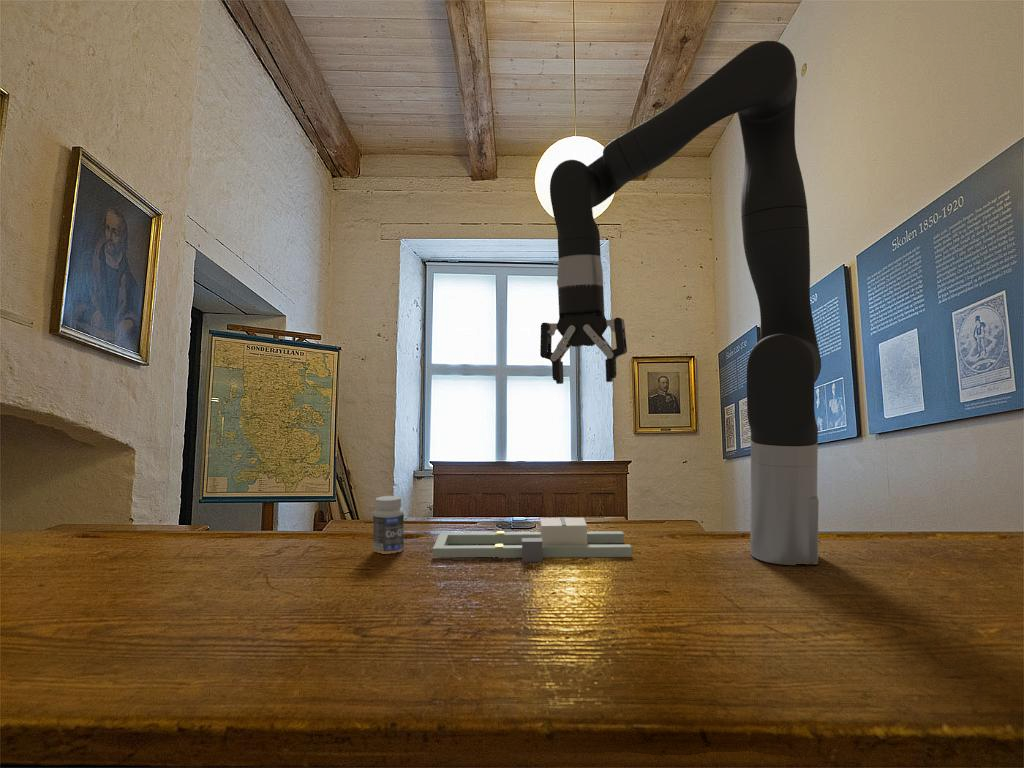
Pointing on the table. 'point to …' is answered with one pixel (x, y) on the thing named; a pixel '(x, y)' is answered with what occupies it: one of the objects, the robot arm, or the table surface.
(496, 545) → the balance mark
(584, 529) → the block
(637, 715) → the table surface
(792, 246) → the robot arm
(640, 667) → the table surface
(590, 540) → the slotted beam
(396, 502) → the pill bottle
